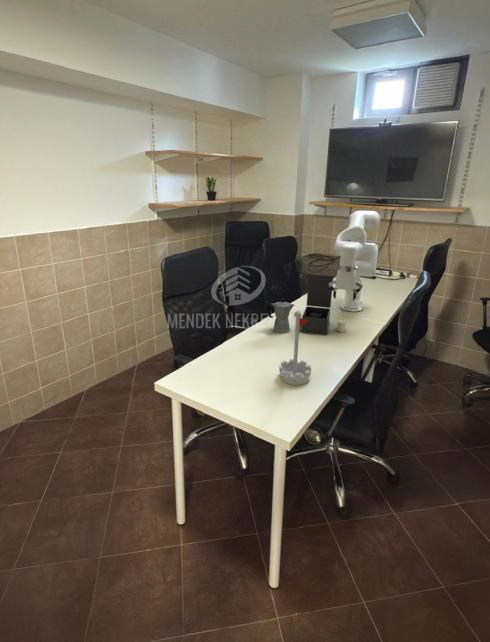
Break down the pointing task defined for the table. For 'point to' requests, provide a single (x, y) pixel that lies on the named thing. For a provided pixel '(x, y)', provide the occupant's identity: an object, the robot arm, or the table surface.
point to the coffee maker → (316, 320)
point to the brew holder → (315, 315)
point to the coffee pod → (341, 325)
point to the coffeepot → (281, 315)
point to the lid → (319, 291)
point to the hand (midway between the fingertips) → (344, 299)
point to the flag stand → (295, 360)
